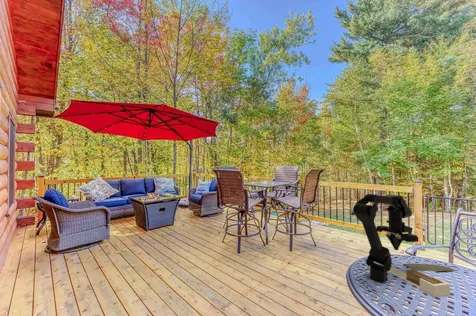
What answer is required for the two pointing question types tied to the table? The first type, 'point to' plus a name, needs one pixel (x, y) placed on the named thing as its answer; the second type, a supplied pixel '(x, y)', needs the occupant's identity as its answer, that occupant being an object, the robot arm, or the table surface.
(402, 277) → the board
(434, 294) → the end cap
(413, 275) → the slat
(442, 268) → the stone slab
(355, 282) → the table surface
